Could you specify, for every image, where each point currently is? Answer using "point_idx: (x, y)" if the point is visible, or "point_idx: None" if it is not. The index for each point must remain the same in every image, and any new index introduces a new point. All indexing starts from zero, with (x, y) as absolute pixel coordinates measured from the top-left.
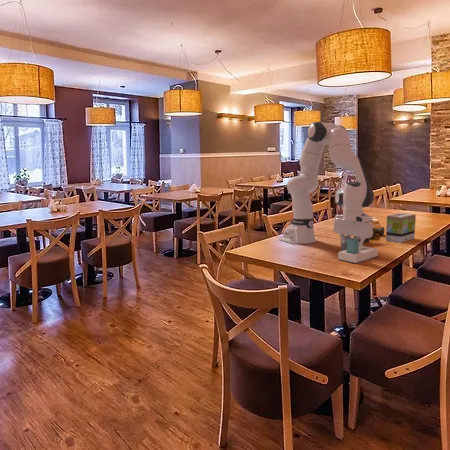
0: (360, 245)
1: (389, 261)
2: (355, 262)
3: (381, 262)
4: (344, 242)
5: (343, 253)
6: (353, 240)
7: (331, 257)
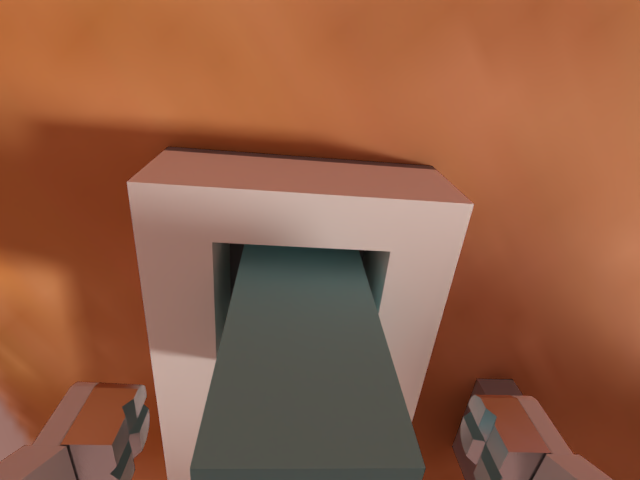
0: (73, 392)
1: (18, 411)
2: (170, 150)
3: (34, 352)
4: (476, 411)
5: (374, 194)
6: (207, 457)
7: (547, 214)
